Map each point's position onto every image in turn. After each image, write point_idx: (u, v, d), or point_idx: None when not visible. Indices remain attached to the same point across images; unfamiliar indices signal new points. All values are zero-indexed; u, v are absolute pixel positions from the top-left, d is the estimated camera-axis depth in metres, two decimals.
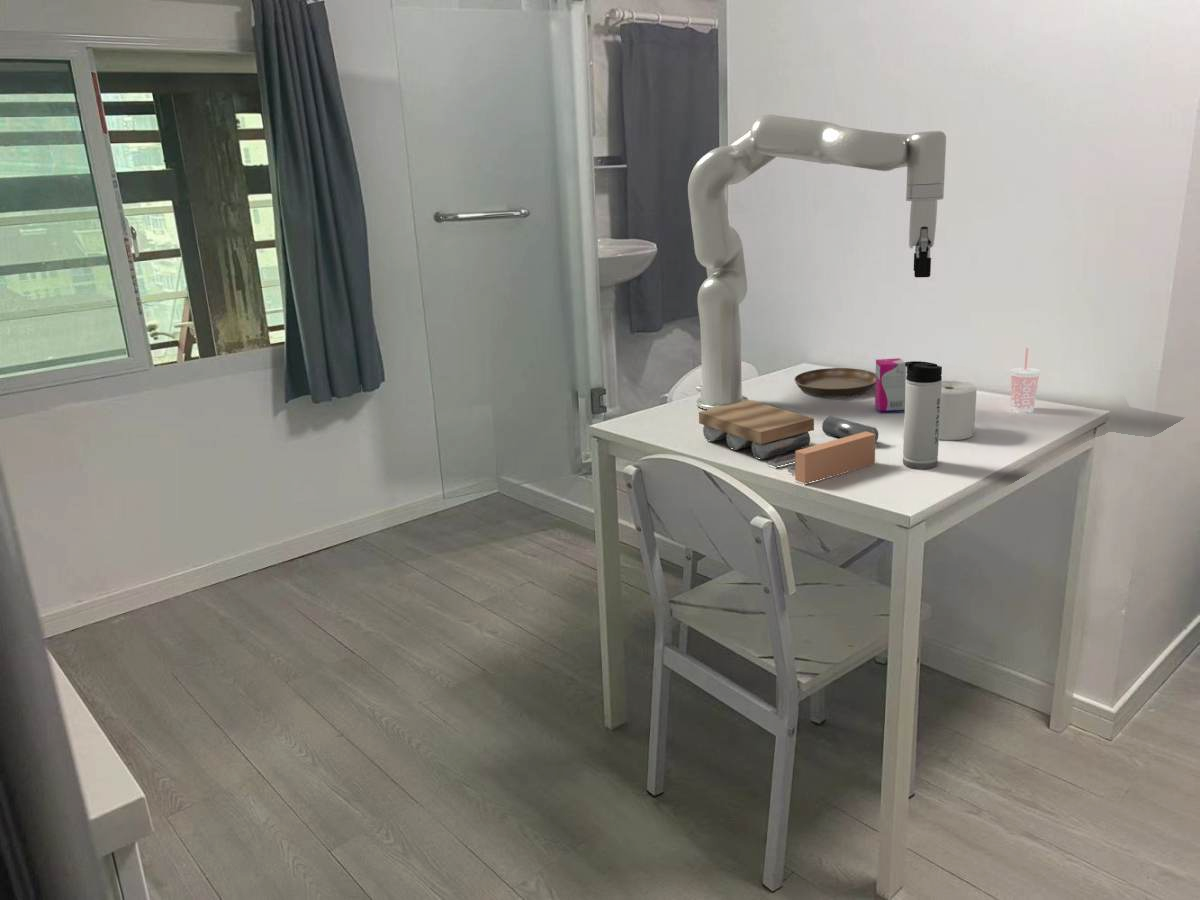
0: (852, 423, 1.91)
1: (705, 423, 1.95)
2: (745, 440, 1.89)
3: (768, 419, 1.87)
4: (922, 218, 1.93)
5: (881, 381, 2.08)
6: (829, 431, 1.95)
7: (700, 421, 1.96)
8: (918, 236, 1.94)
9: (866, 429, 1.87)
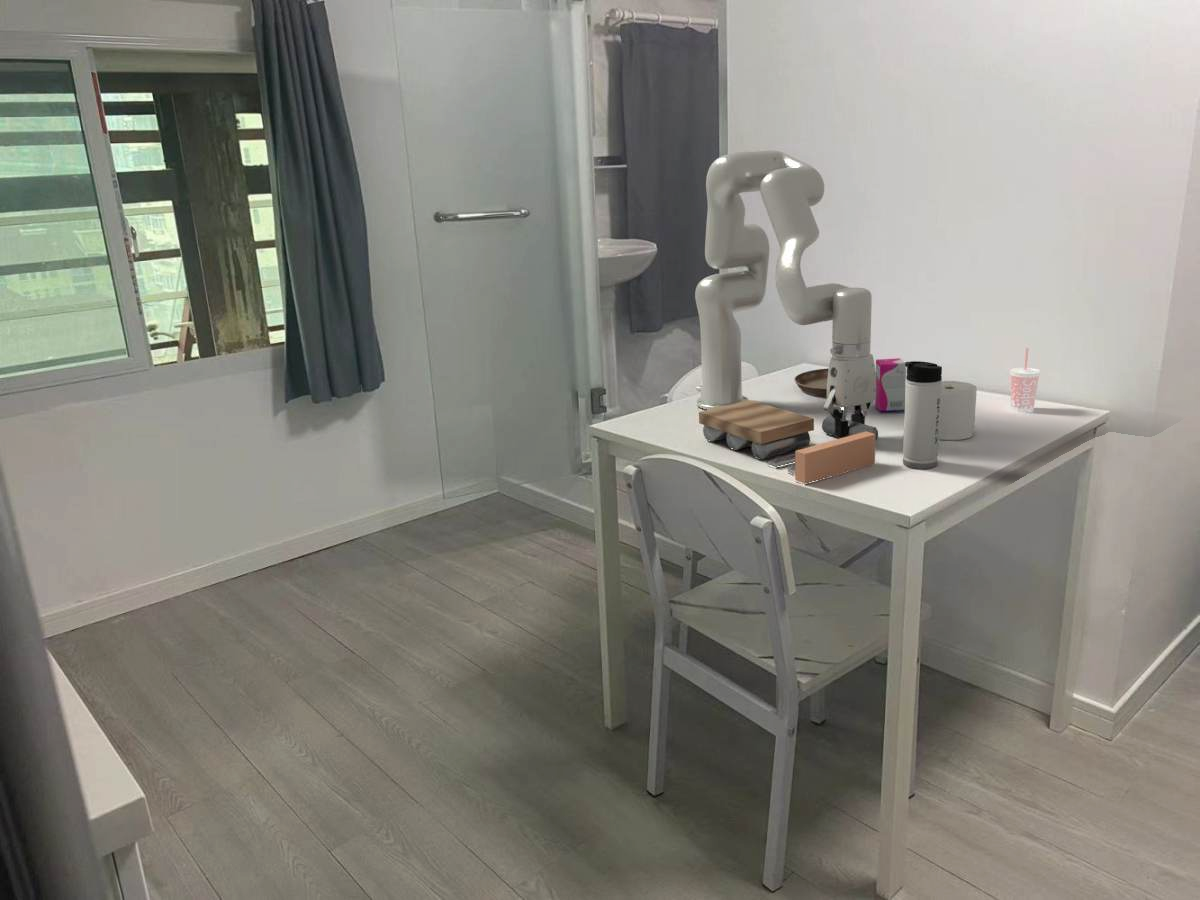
0: (852, 422, 1.91)
1: (705, 423, 1.95)
2: (745, 440, 1.89)
3: (768, 419, 1.87)
4: None
5: (881, 381, 2.08)
6: (829, 431, 1.95)
7: (700, 421, 1.96)
8: None
9: (866, 429, 1.87)
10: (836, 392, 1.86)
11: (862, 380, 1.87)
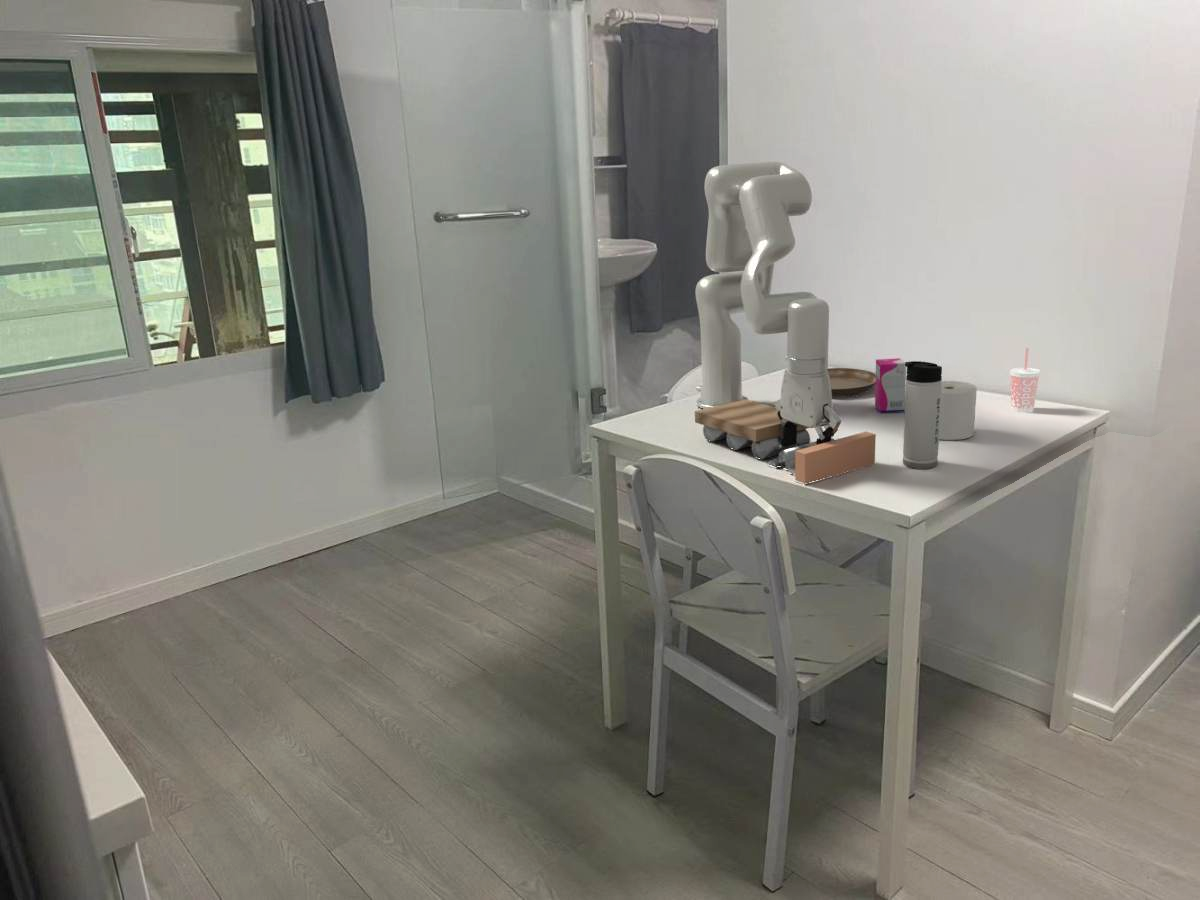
0: (803, 445, 1.79)
1: (701, 422, 1.96)
2: (745, 440, 1.89)
3: (763, 418, 1.89)
4: (823, 395, 1.72)
5: (881, 381, 2.08)
6: None
7: (696, 420, 1.98)
8: (821, 415, 1.73)
9: (784, 450, 1.77)
10: None
11: (798, 399, 1.75)
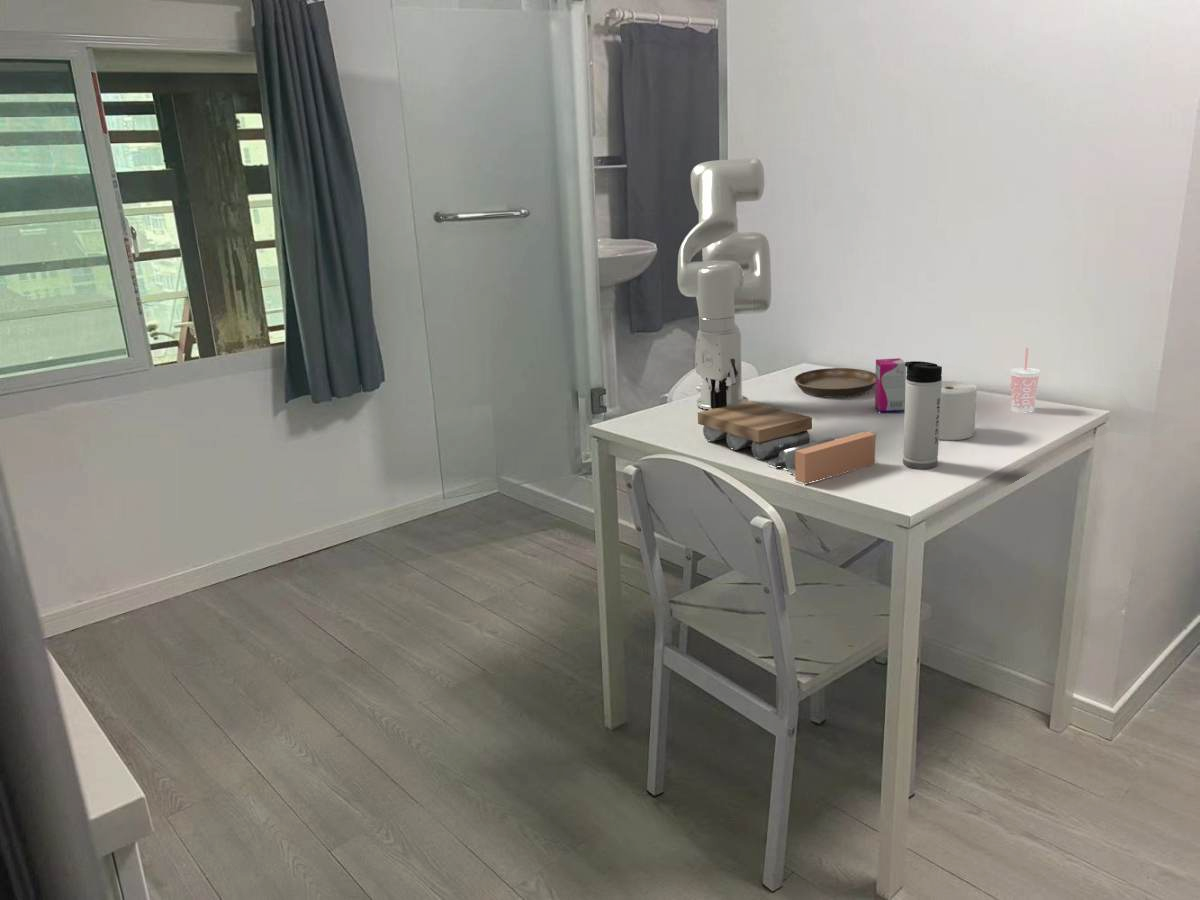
0: (803, 445, 1.79)
1: (704, 423, 1.96)
2: (745, 440, 1.89)
3: (766, 419, 1.88)
4: (730, 351, 1.93)
5: (881, 381, 2.08)
6: None
7: (699, 421, 1.97)
8: (728, 368, 1.94)
9: (784, 450, 1.77)
10: None
11: (708, 355, 1.96)
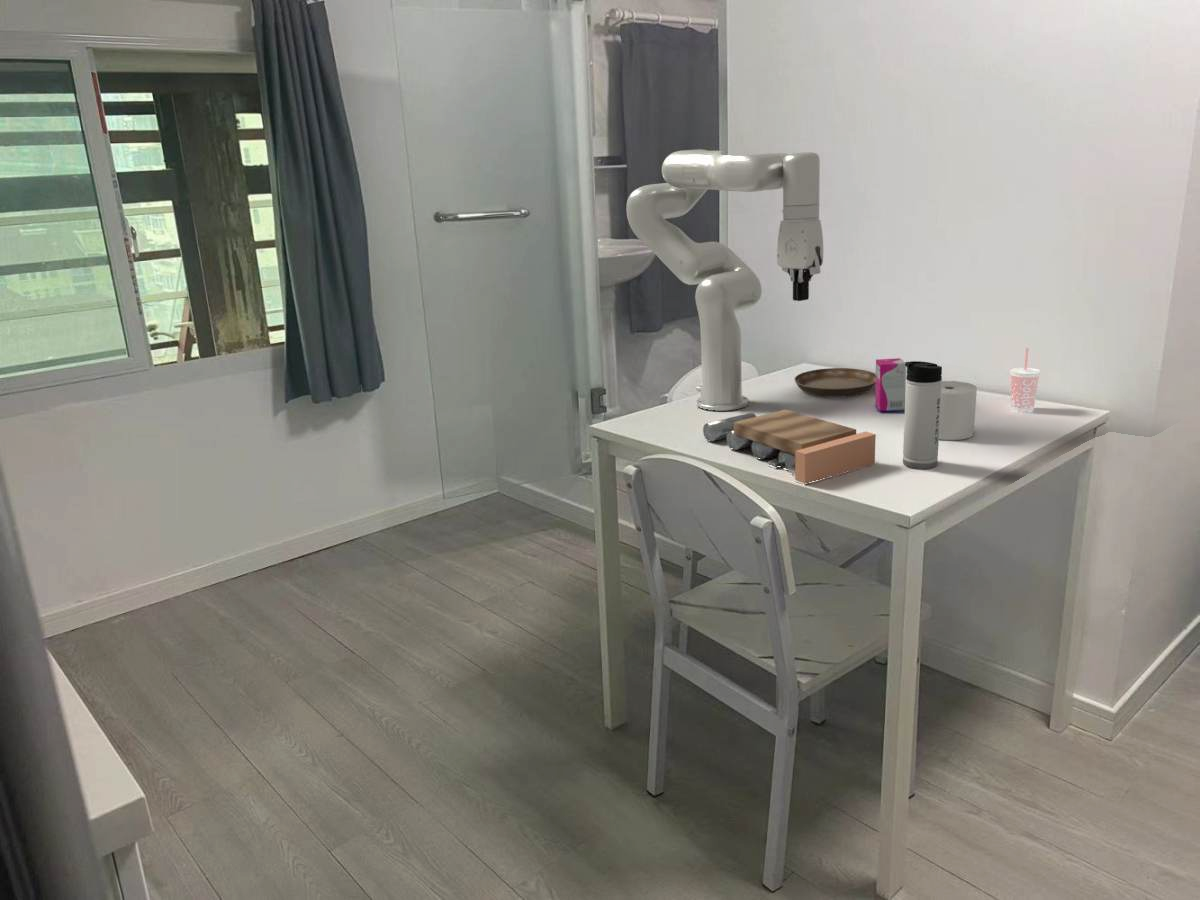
0: None
1: (740, 434, 1.86)
2: (745, 443, 1.89)
3: (807, 430, 1.79)
4: (815, 238, 1.93)
5: (881, 381, 2.08)
6: None
7: (735, 432, 1.88)
8: (813, 256, 1.93)
9: None
10: None
11: (793, 244, 1.96)
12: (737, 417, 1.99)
